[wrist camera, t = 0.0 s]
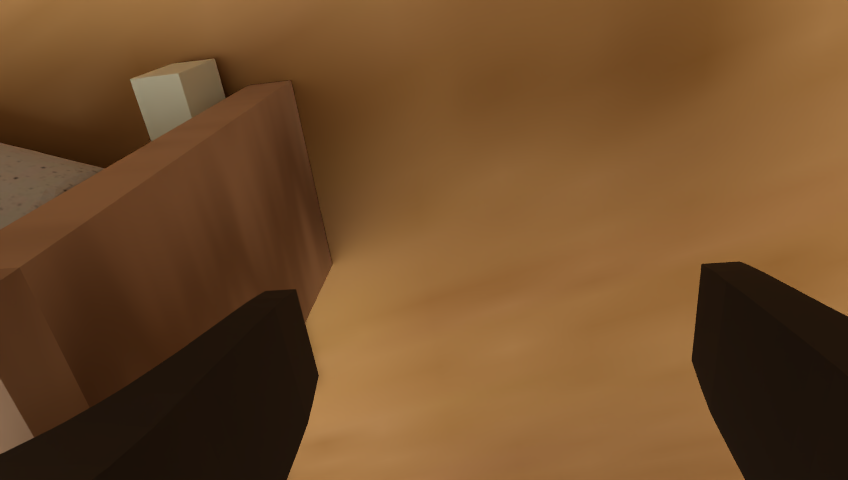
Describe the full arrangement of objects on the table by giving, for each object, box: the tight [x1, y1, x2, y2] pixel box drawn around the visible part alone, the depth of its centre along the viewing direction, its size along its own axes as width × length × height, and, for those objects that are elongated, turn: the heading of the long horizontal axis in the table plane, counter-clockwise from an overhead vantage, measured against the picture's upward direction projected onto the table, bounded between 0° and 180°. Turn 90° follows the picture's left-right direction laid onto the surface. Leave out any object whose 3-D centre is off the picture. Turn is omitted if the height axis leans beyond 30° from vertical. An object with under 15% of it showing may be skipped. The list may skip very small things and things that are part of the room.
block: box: [130, 59, 225, 141], centre depth 24 cm, size 28×17×4 cm, turn 7°
